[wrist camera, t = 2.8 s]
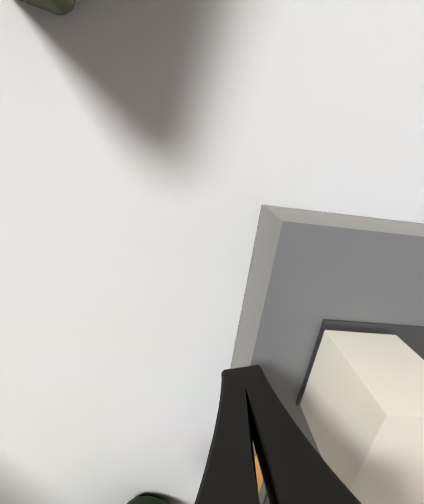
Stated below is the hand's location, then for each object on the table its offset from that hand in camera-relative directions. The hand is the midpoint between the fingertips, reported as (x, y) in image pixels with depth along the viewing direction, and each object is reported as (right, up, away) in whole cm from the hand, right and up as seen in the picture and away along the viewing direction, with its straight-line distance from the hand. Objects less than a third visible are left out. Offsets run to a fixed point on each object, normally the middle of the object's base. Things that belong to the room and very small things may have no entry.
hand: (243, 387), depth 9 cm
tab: (+4, 0, +1) cm, 5 cm away
